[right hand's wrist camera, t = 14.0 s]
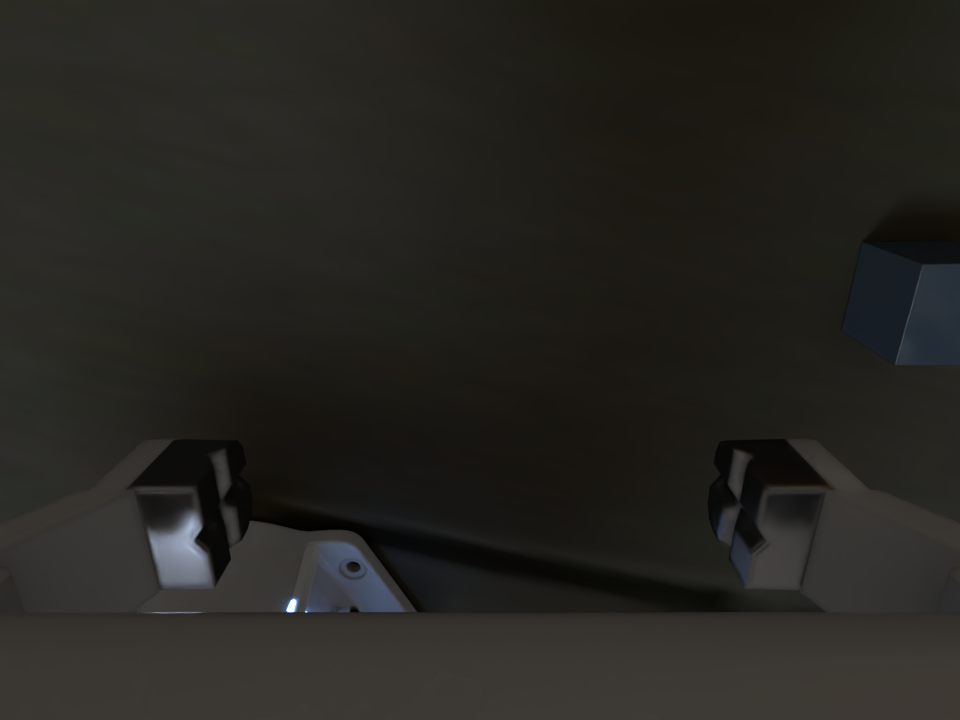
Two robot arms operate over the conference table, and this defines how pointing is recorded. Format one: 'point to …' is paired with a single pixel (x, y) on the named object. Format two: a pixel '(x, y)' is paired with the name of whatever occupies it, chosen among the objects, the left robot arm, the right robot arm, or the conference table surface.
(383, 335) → the conference table surface
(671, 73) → the conference table surface
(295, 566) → the right robot arm
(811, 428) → the conference table surface
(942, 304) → the block
